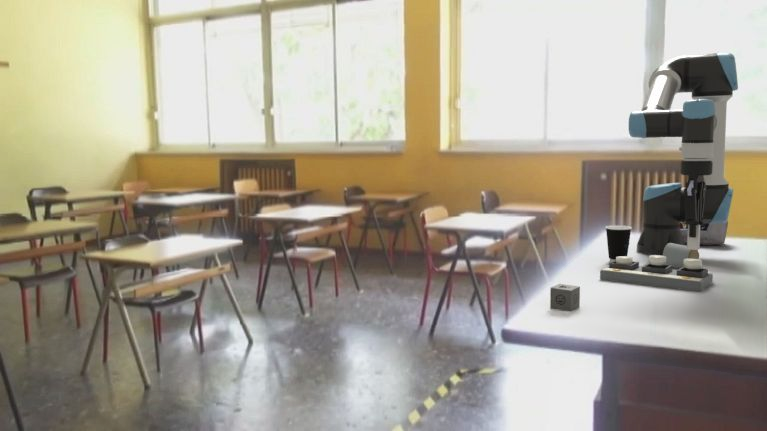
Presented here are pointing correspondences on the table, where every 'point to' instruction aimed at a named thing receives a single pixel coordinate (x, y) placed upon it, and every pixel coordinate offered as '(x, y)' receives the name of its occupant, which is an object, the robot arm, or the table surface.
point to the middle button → (657, 260)
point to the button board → (658, 276)
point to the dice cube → (565, 297)
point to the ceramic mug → (678, 255)
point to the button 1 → (624, 260)
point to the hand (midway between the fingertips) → (693, 249)
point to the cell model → (708, 233)
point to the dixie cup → (618, 241)
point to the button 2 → (692, 263)
